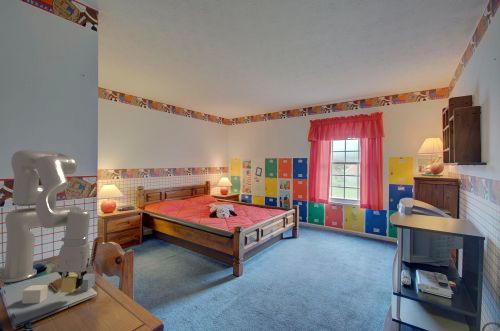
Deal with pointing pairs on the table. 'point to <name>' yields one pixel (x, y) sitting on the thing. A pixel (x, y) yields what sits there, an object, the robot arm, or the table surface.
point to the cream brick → (35, 294)
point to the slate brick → (87, 282)
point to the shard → (56, 284)
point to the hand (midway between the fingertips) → (72, 286)
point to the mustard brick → (69, 283)
